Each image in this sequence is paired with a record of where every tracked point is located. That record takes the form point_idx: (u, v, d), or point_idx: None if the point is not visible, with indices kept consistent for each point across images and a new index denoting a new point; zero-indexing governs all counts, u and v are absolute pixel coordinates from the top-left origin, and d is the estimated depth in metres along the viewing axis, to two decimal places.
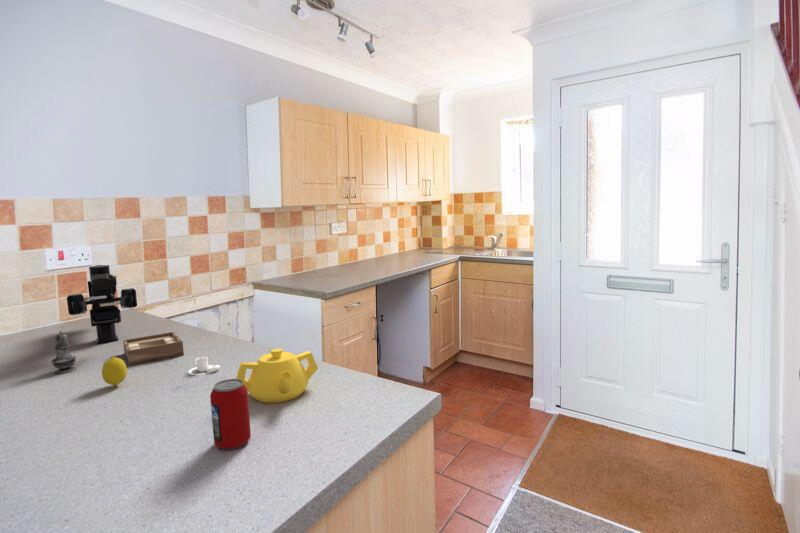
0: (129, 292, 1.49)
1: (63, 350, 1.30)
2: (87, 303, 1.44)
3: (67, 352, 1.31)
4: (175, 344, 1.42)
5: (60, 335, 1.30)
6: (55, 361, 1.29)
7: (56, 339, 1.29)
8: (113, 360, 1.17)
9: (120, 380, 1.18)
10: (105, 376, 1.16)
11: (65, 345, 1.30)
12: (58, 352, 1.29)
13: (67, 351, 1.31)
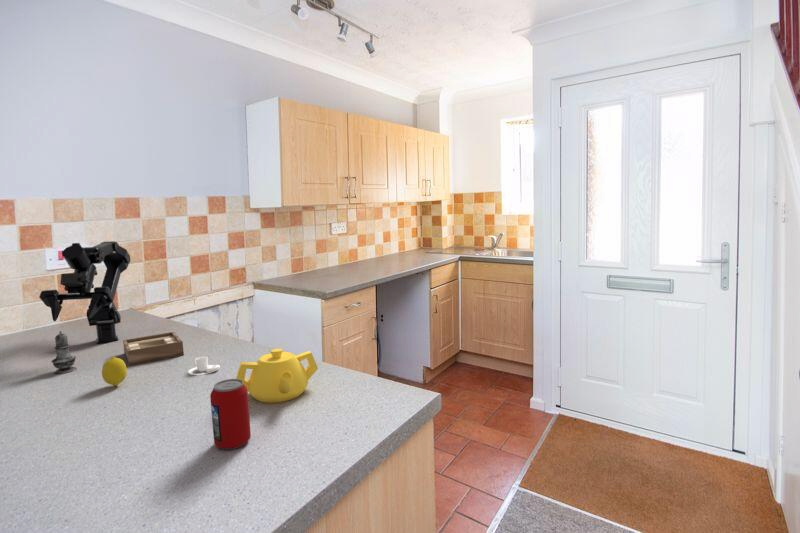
0: (100, 295, 1.41)
1: (63, 350, 1.30)
2: (62, 299, 1.41)
3: (67, 352, 1.31)
4: (175, 344, 1.42)
5: (60, 335, 1.30)
6: (55, 361, 1.29)
7: (56, 339, 1.29)
8: (113, 360, 1.17)
9: (120, 380, 1.18)
10: (105, 376, 1.16)
11: (65, 345, 1.30)
12: (58, 352, 1.29)
13: (67, 351, 1.31)
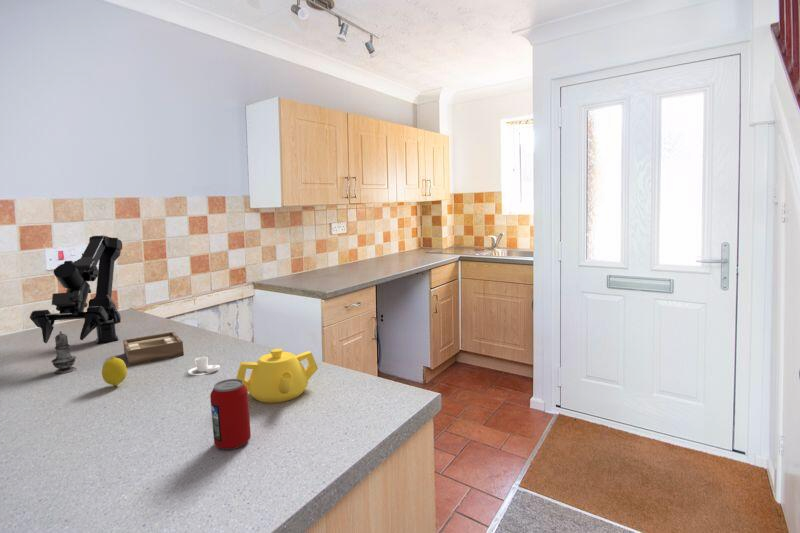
0: (93, 316, 1.35)
1: (63, 350, 1.30)
2: (53, 319, 1.35)
3: (67, 352, 1.31)
4: (175, 344, 1.42)
5: (60, 335, 1.30)
6: (55, 361, 1.29)
7: (56, 339, 1.29)
8: (113, 360, 1.17)
9: (120, 380, 1.18)
10: (105, 376, 1.16)
11: (65, 345, 1.30)
12: (58, 352, 1.29)
13: (67, 351, 1.31)
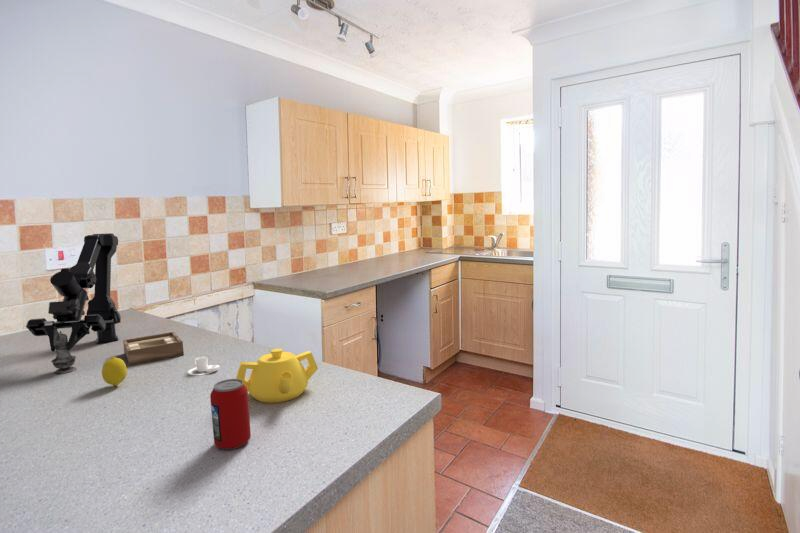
0: (81, 325, 1.33)
1: (63, 350, 1.30)
2: None
3: (67, 352, 1.31)
4: (175, 344, 1.42)
5: (60, 335, 1.30)
6: (55, 361, 1.29)
7: (56, 339, 1.29)
8: (113, 360, 1.17)
9: (120, 380, 1.18)
10: (105, 376, 1.16)
11: (65, 345, 1.30)
12: (58, 352, 1.29)
13: (67, 351, 1.31)
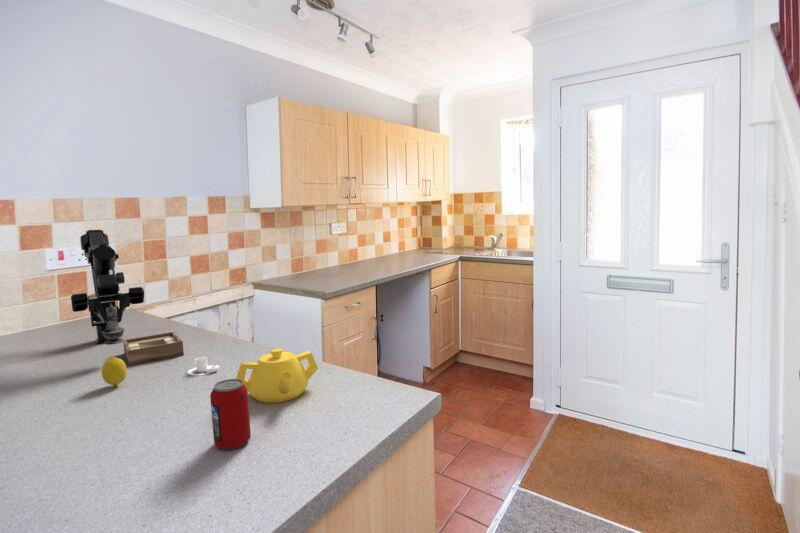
0: (128, 297, 1.39)
1: (115, 321, 1.35)
2: None
3: None
4: (175, 344, 1.42)
5: (112, 307, 1.35)
6: (109, 332, 1.34)
7: (109, 311, 1.34)
8: (112, 360, 1.17)
9: (120, 380, 1.18)
10: (105, 376, 1.16)
11: (116, 316, 1.36)
12: (110, 323, 1.34)
13: (117, 322, 1.36)
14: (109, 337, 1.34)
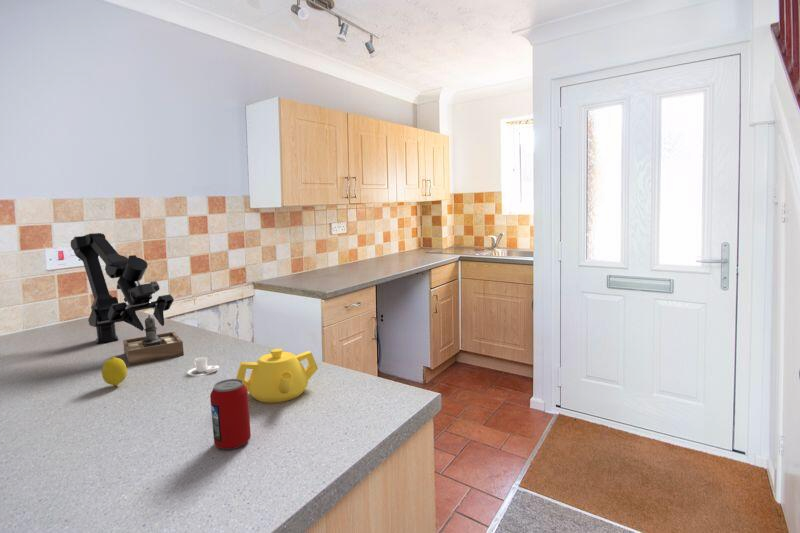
0: (165, 303, 1.49)
1: (155, 331, 1.44)
2: None
3: (156, 334, 1.45)
4: (175, 344, 1.42)
5: (151, 318, 1.43)
6: (151, 342, 1.42)
7: (149, 322, 1.42)
8: (113, 360, 1.17)
9: (120, 380, 1.18)
10: (105, 376, 1.16)
11: (155, 327, 1.44)
12: (151, 334, 1.43)
13: (155, 332, 1.45)
14: None
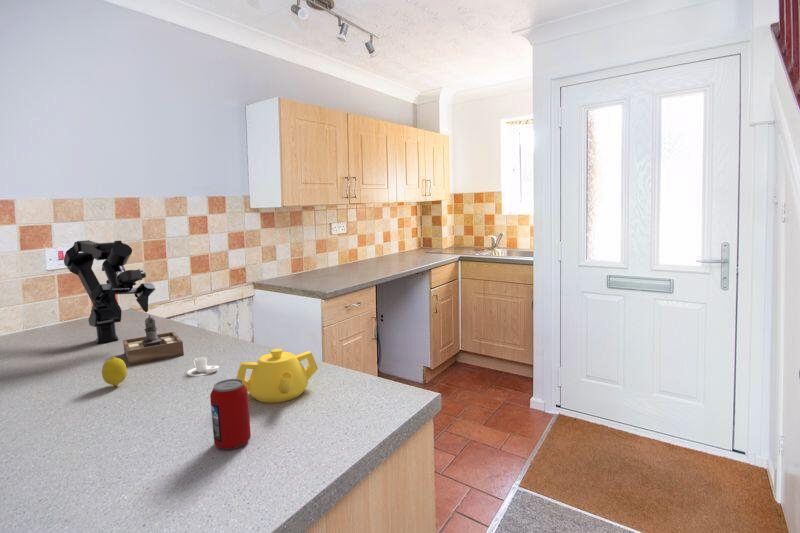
0: (151, 291, 1.55)
1: (155, 331, 1.44)
2: None
3: (156, 333, 1.45)
4: (175, 344, 1.42)
5: (151, 318, 1.43)
6: (151, 342, 1.42)
7: (149, 322, 1.42)
8: (113, 360, 1.17)
9: (120, 380, 1.18)
10: (105, 376, 1.16)
11: (155, 327, 1.45)
12: (151, 333, 1.43)
13: (156, 333, 1.45)
14: None
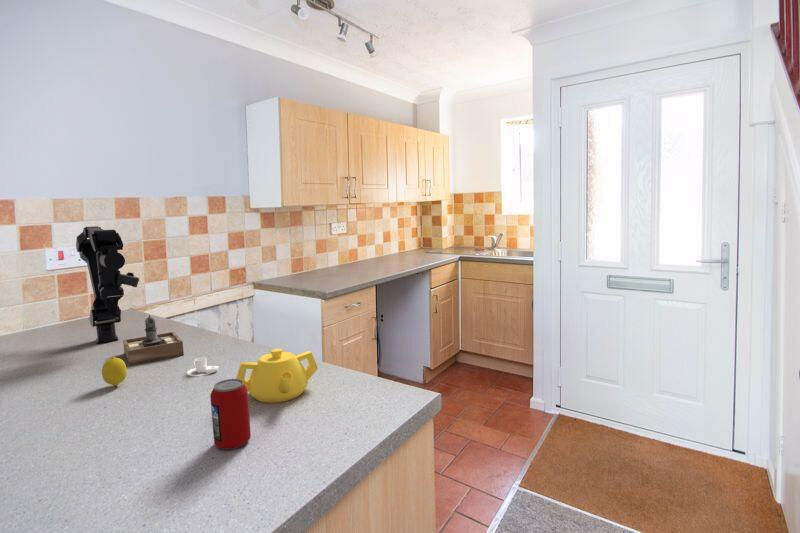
0: None
1: (155, 331, 1.44)
2: None
3: (156, 333, 1.45)
4: (175, 344, 1.42)
5: (151, 318, 1.43)
6: (151, 342, 1.42)
7: (149, 322, 1.42)
8: (113, 360, 1.17)
9: (120, 380, 1.18)
10: (105, 376, 1.16)
11: (155, 327, 1.45)
12: (151, 334, 1.43)
13: (156, 332, 1.45)
14: None
